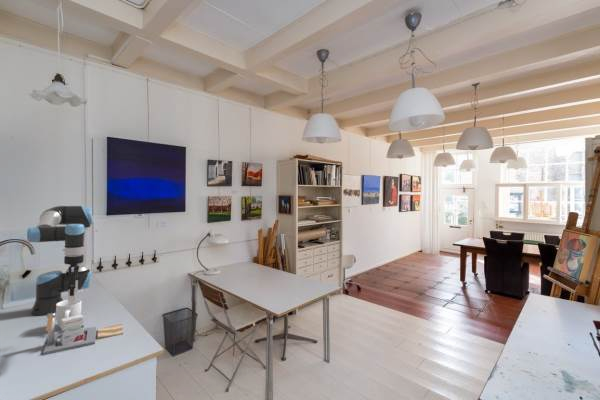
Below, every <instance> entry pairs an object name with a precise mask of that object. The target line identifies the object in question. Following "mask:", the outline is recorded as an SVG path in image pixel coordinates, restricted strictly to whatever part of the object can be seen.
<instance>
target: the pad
mask: <svg viewBox="0 0 600 400" xmlns="http://www.w3.org/2000/svg"><path fill="white" fill-rule="evenodd" d="M120 334H121V335H123V334H124V330H123V324H116V325H110V326H104V327H100V328H97V340H101V339H105V338H110V337H115V336H120Z"/></svg>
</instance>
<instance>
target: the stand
mask: <svg viewBox="0 0 600 400" xmlns="http://www.w3.org/2000/svg"><path fill="white" fill-rule="evenodd" d="M48 319H49V318H47V320H48ZM55 321H56V316H55V317H53V320H52V325H51V329H50V331H47V342H46V344H45V348H44V350H43V352H42V353H43V354H42V355H43V356H44V355H49V354H54V353H58V352H62V351H63V352H64V351H68V350H72V349H78V348H83V347H87V346H91V345H95V343H96V330H97V329H96V328H97V327H96V326H93V327H92V326H91V327H87V328H84V334H86V340H83V341H82V340H81V341H76V342H72V343H69V344H66V345H58V346H57V342H58V339H60V332H59V333H55Z"/></svg>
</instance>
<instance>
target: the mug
mask: <svg viewBox="0 0 600 400" xmlns="http://www.w3.org/2000/svg"><path fill="white" fill-rule="evenodd" d="M80 314H81V315H82V299H79V298H75V302H70V303H68V299H65V300H63V301H61V302H59V303H57V304H56V316H55V320H56V323H57V324H58V326H59V327H60V326H61V319H64V318H68V317H72V316H76V315H80Z"/></svg>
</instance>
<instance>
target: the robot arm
mask: <svg viewBox="0 0 600 400" xmlns="http://www.w3.org/2000/svg"><path fill="white" fill-rule="evenodd" d="M93 224H94V220H93V211H92V208H91V207H90V206H88V205H87V206H86V205H57V206H54V207H53V206H52V207H51V208H48V209H46V210H44V211H43V212H42V213H41V214H40V216H39V222H38V224H37V226H30V227H28V228H27V231H26V240H27V242H29V243H48V242H64V249H62V251H63V252H64V258H63V260H64V261H63V262H64V263H63V264H65V265H68V268H67V269H66V271H65V272H63V271H61V270H51V271H47V272H44V273H41V274H39V275H38V276H37V277H36V282H35V285H36V286H35V288H36V290H35V292H36V293H35V301H34V303H33V306H32V307H31V315H33V316H47V314H49V313H53V312H55V313H56V304H57V303H59V302H61V301H64V300H63V297H62V293H65V292H67V300H68V303H70V302H75V299H76V298H77V296H76V294H78V291H81V290H86V289H88V288H89V287H90V283H91V279H92V270H91V269H90V267H89V266H88V265H87V256H88V255H87V253H88V252H87V251H88V250H87V249H88V230H89V229H90V228H91V225H93ZM62 225H63V226H62Z"/></svg>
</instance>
